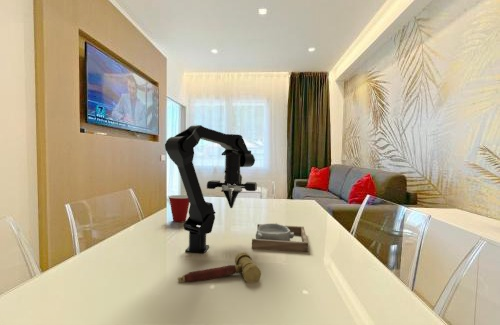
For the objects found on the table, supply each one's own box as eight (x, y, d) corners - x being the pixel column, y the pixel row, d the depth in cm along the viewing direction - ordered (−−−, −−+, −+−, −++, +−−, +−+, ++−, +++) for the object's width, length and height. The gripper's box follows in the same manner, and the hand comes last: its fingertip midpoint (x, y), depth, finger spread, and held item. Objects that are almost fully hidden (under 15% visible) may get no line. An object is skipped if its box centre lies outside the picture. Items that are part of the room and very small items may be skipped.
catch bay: (307, 252, 92) (307, 243, 92) (251, 248, 94) (251, 239, 94) (303, 233, 112) (303, 226, 112) (257, 230, 114) (257, 223, 114)
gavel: (178, 280, 64) (176, 263, 74) (179, 298, 65) (177, 279, 74) (260, 265, 70) (249, 251, 80) (261, 282, 71) (250, 266, 80)
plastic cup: (194, 218, 133) (194, 194, 132) (187, 224, 122) (187, 197, 121) (173, 217, 134) (173, 193, 133) (163, 222, 123) (164, 196, 123)
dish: (258, 248, 95) (258, 234, 95) (251, 235, 108) (251, 223, 108) (297, 246, 97) (298, 232, 97) (285, 234, 111) (286, 222, 111)
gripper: (259, 167, 110) (258, 205, 111) (215, 165, 113) (214, 202, 114) (255, 168, 99) (254, 211, 100) (206, 166, 102) (205, 207, 103)
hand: (231, 207), depth 104 cm, fingers closed
